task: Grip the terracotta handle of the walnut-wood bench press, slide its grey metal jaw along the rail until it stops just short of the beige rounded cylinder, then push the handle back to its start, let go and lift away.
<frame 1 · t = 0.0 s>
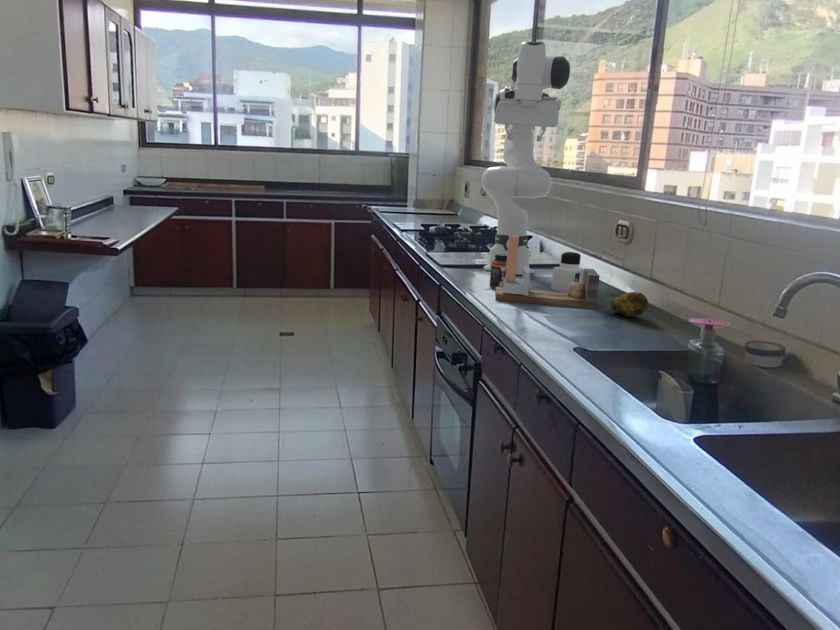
hand: (523, 140, 216), 48 cm above the worktop, fingers open, 8 cm apart
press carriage: (517, 263, 208), point 11 cm above the worktop, slide at 0.0 cm
potato: (627, 317, 194), on the worktop
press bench: (543, 300, 210), on the worktop
container: (566, 291, 227), on the worktop
supplement bottle: (498, 288, 224), on the worktop
beige rounded cylinder: (575, 296, 208), point 2 cm above the worktop, touching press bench
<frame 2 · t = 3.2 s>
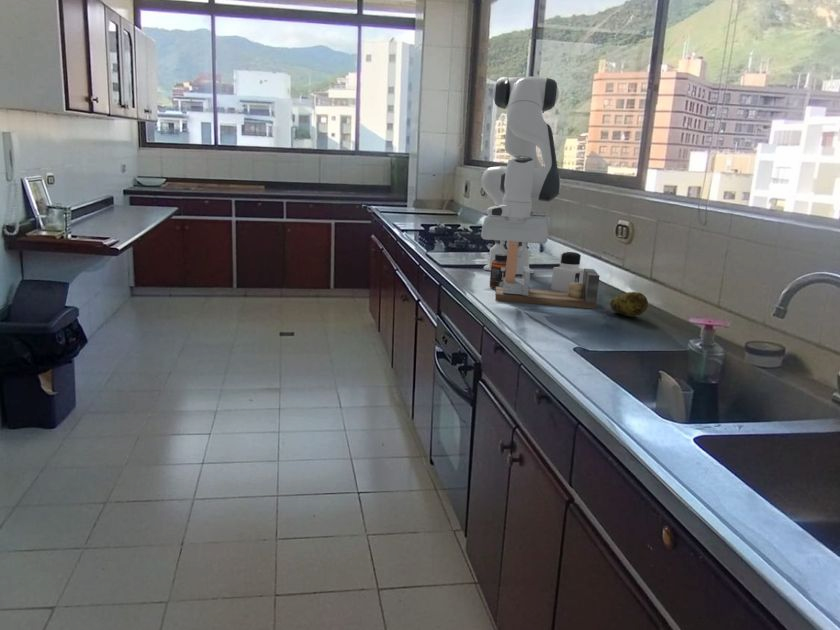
hand: (512, 256, 208), 13 cm above the worktop, fingers closed on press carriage, 3 cm apart
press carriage: (517, 263, 208), point 11 cm above the worktop, slide at 0.0 cm, touching gripper
everything else where it was.
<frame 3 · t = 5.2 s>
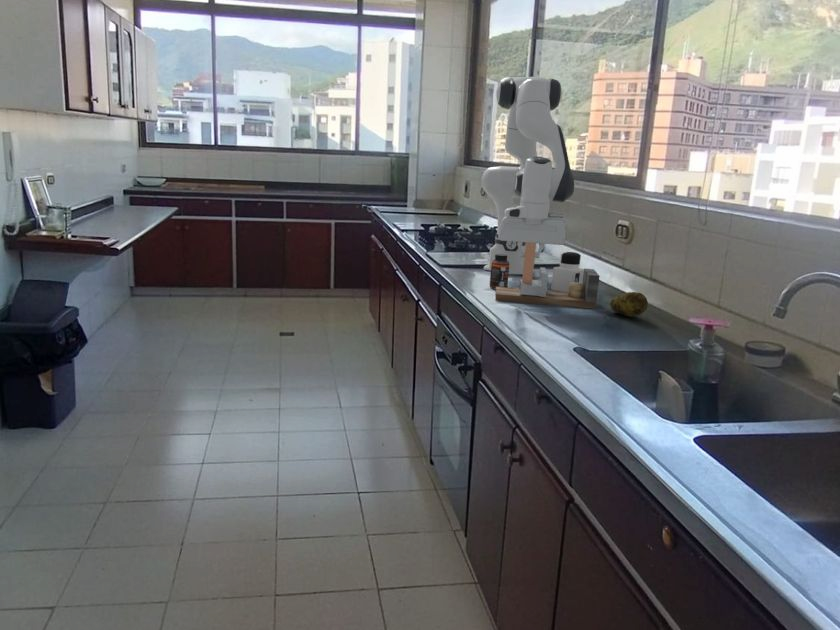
hand: (529, 257, 207), 13 cm above the worktop, fingers closed on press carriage, 3 cm apart
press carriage: (534, 265, 207), point 11 cm above the worktop, slide at 5.3 cm, touching gripper
everything else where it was.
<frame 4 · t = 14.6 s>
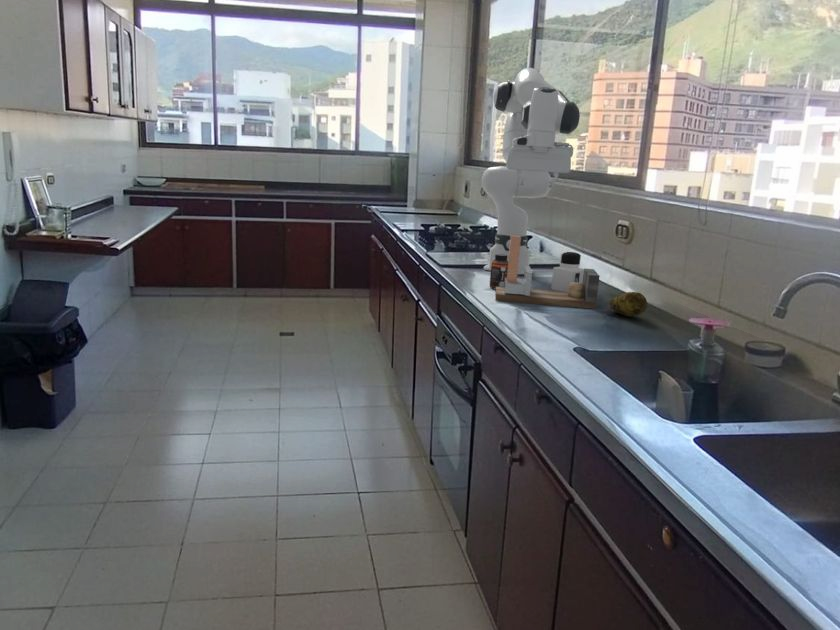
hand: (536, 186, 214), 34 cm above the worktop, fingers open, 8 cm apart
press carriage: (519, 263, 208), point 11 cm above the worktop, slide at 0.5 cm
everything else where it was.
at the end: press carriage slide at 0.5 cm; beige rounded cylinder moved 0.0 cm from its start; the gripper is holding nothing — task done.
